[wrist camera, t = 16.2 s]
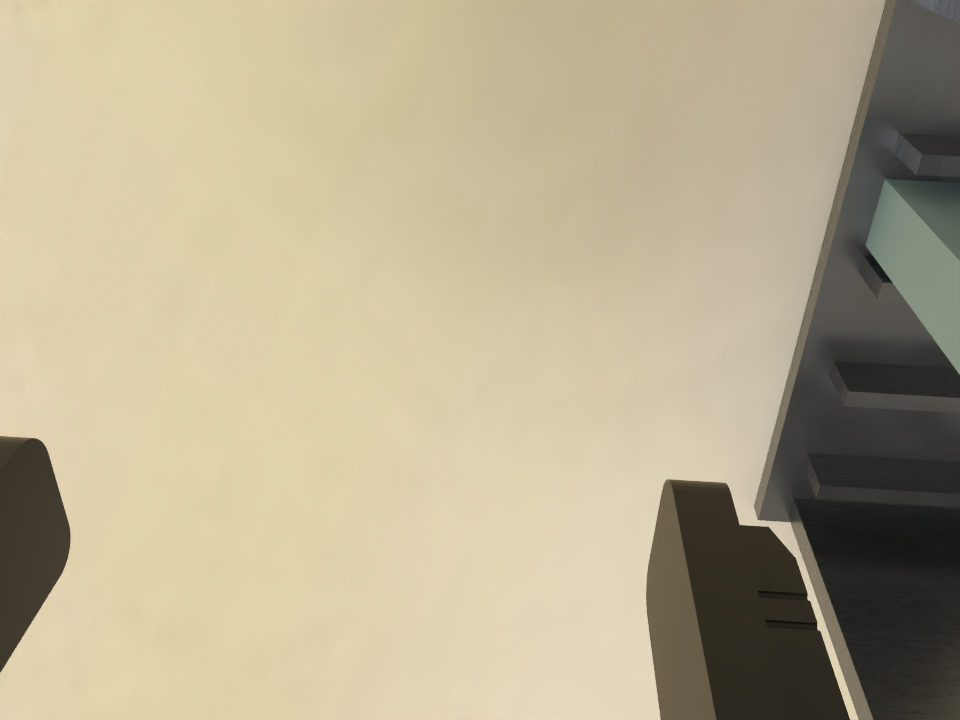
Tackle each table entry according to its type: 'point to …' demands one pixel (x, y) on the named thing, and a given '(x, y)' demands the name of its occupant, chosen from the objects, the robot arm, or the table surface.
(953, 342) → the tall pale blue pillar
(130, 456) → the table surface
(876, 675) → the rack
